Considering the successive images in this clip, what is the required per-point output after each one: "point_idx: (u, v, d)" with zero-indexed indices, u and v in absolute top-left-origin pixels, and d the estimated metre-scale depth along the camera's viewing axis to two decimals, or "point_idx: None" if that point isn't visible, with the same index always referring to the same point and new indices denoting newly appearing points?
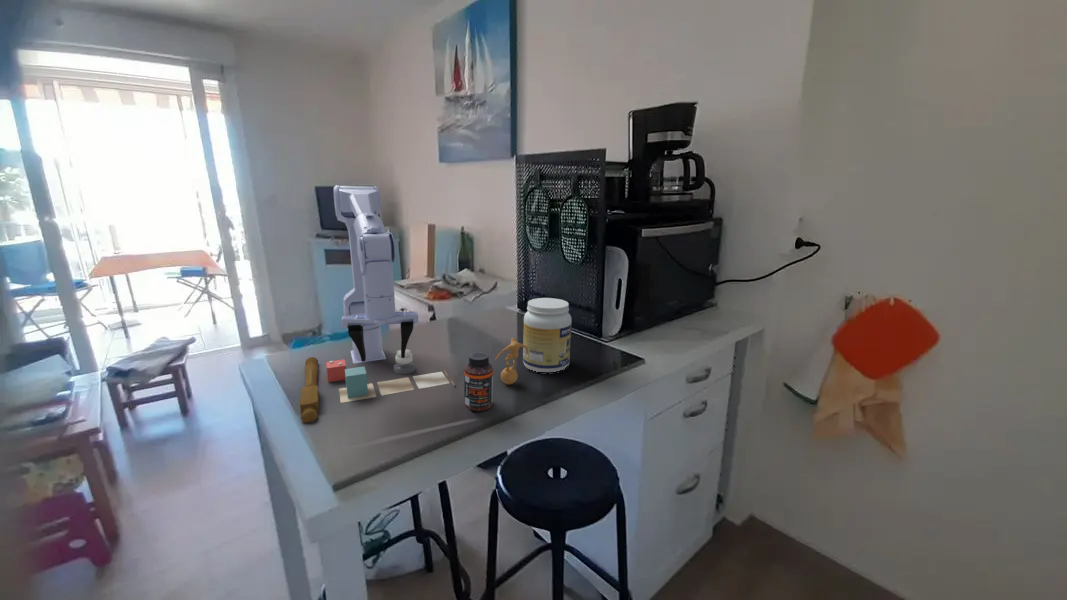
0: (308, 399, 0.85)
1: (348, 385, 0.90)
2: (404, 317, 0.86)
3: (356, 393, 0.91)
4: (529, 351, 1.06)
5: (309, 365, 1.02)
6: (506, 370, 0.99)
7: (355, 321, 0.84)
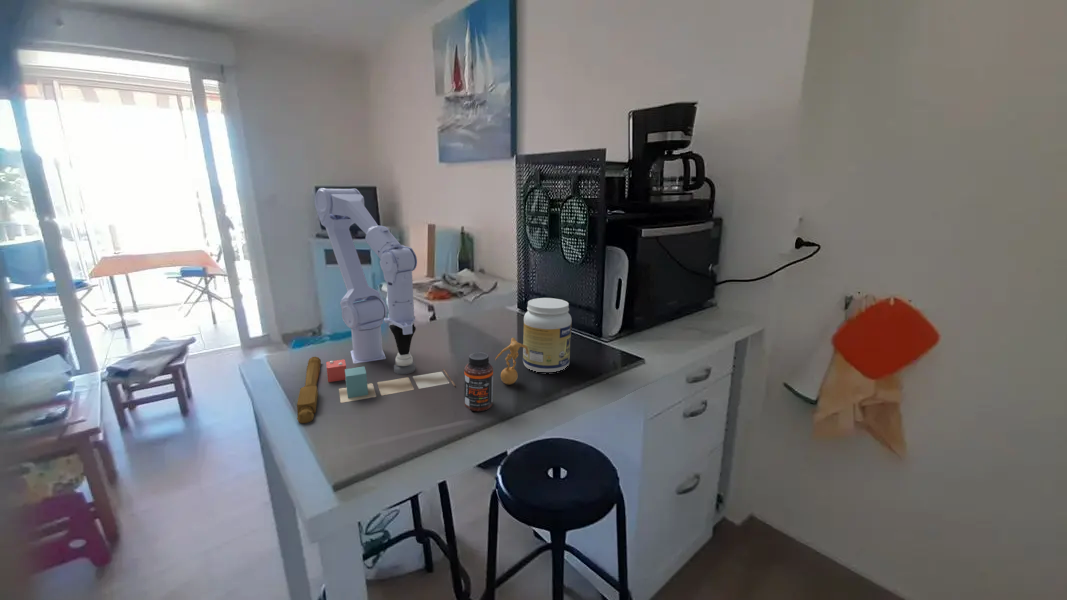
0: (306, 399, 0.85)
1: (348, 385, 0.90)
2: (398, 324, 0.97)
3: (356, 393, 0.91)
4: (529, 351, 1.06)
5: (311, 365, 1.02)
6: (506, 370, 0.99)
7: None
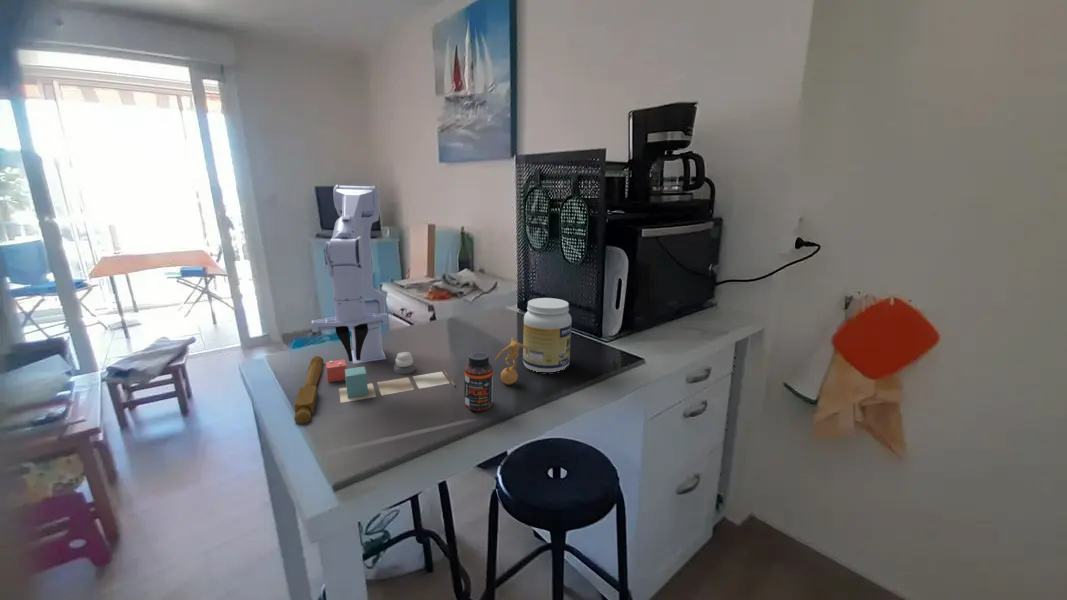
0: (304, 399, 0.85)
1: (348, 385, 0.90)
2: (374, 318, 0.89)
3: (356, 393, 0.91)
4: (529, 351, 1.06)
5: (313, 364, 1.02)
6: (506, 370, 0.99)
7: (326, 324, 0.85)
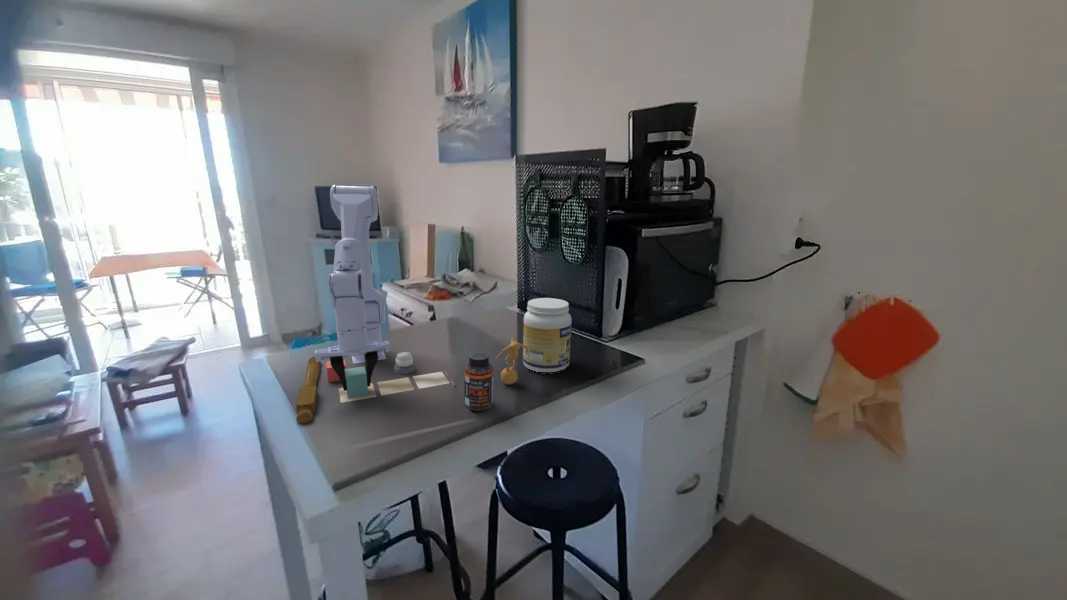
0: (305, 399, 0.85)
1: (348, 385, 0.90)
2: (377, 347, 0.91)
3: (356, 393, 0.91)
4: (529, 351, 1.06)
5: (311, 365, 1.02)
6: (506, 370, 0.99)
7: (329, 354, 0.87)
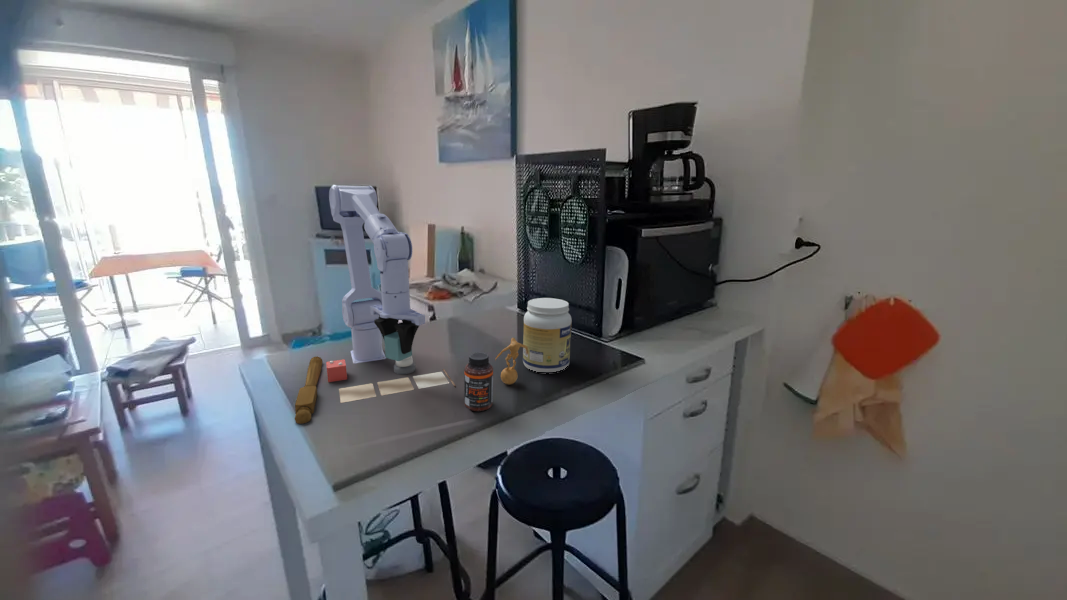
0: (304, 399, 0.85)
1: (385, 345, 0.94)
2: (406, 316, 0.89)
3: (390, 355, 0.93)
4: (529, 351, 1.06)
5: (312, 365, 1.02)
6: (506, 370, 0.99)
7: (376, 310, 0.94)
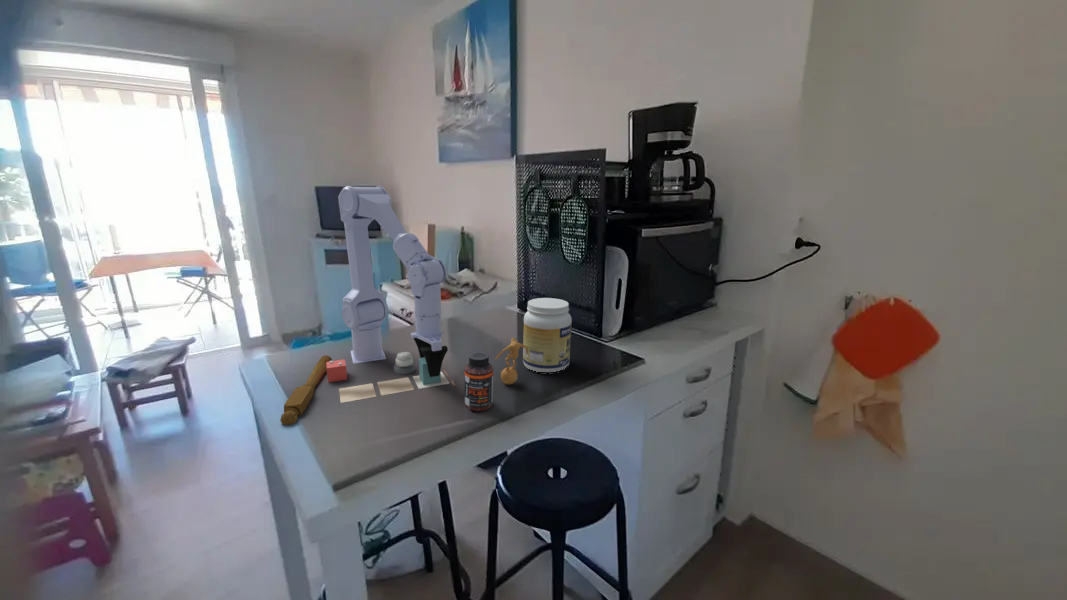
0: (294, 400, 0.85)
1: (419, 367, 1.00)
2: (426, 340, 0.93)
3: (420, 377, 0.99)
4: (529, 351, 1.06)
5: (318, 364, 1.02)
6: (506, 370, 0.99)
7: None
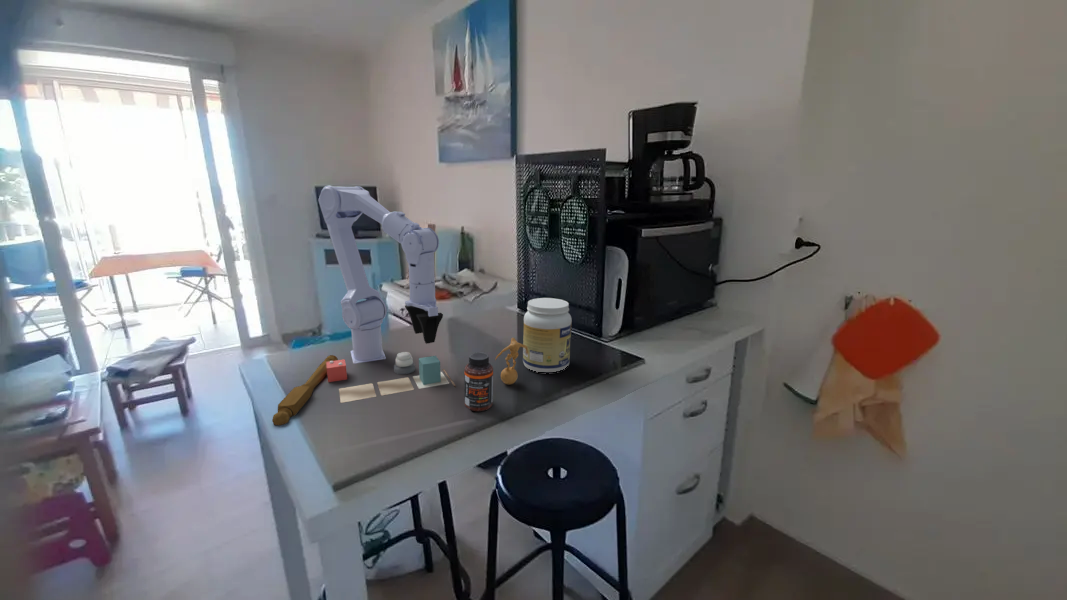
0: (289, 400, 0.85)
1: (419, 367, 1.00)
2: (422, 306, 0.95)
3: (420, 377, 0.99)
4: (529, 351, 1.06)
5: (322, 363, 1.03)
6: (506, 370, 0.99)
7: None
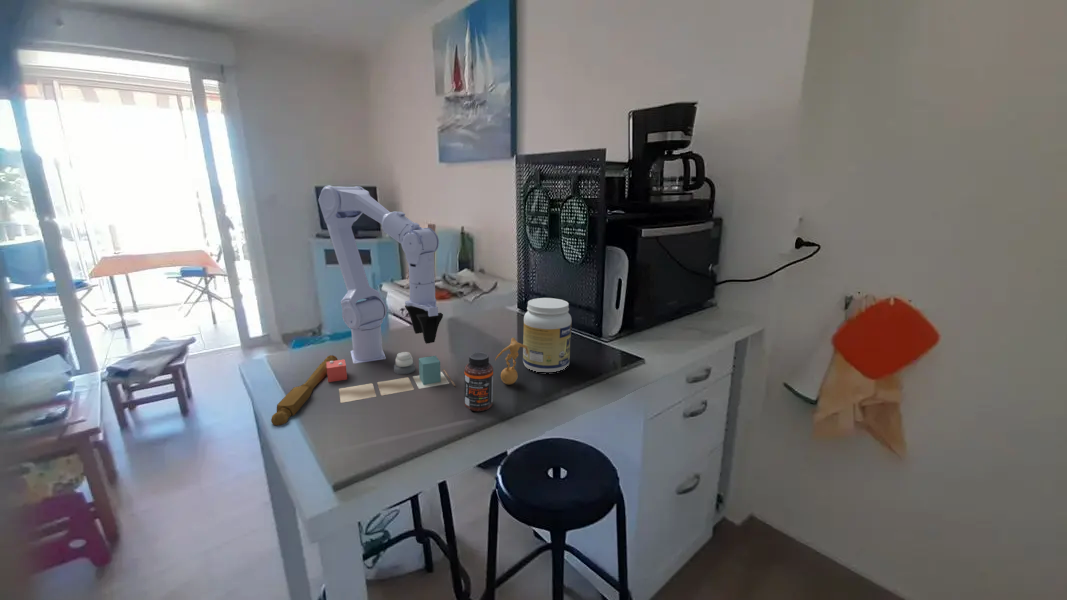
0: (288, 400, 0.85)
1: (419, 367, 1.00)
2: (422, 306, 0.95)
3: (420, 377, 0.99)
4: (529, 351, 1.06)
5: (322, 363, 1.03)
6: (506, 370, 0.99)
7: None
